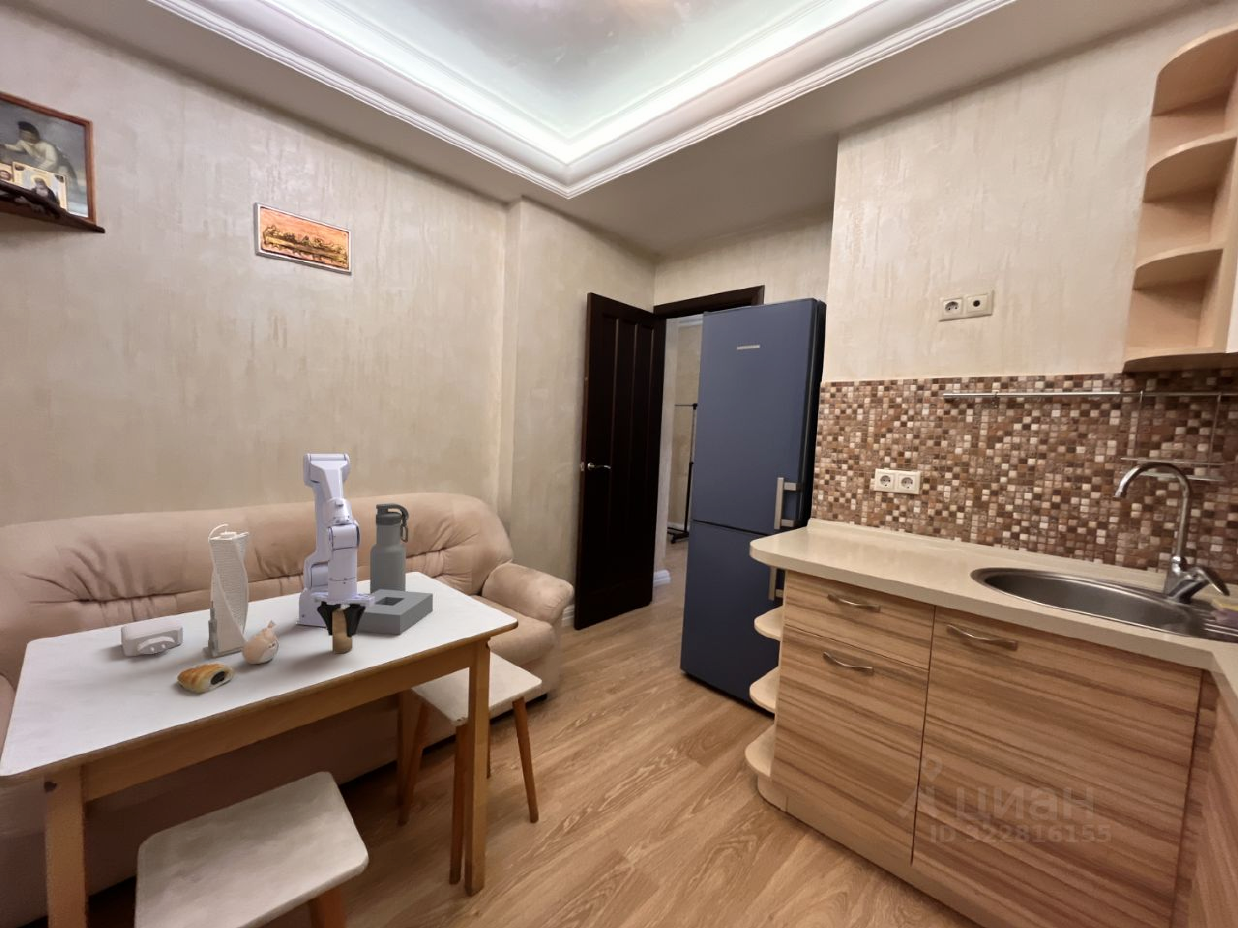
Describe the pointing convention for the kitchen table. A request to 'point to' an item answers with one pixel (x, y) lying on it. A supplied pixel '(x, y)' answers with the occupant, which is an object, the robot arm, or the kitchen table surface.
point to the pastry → (205, 677)
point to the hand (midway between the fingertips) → (342, 634)
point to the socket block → (395, 611)
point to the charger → (151, 636)
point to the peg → (340, 633)
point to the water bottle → (389, 549)
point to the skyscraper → (227, 594)
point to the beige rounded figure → (261, 646)
